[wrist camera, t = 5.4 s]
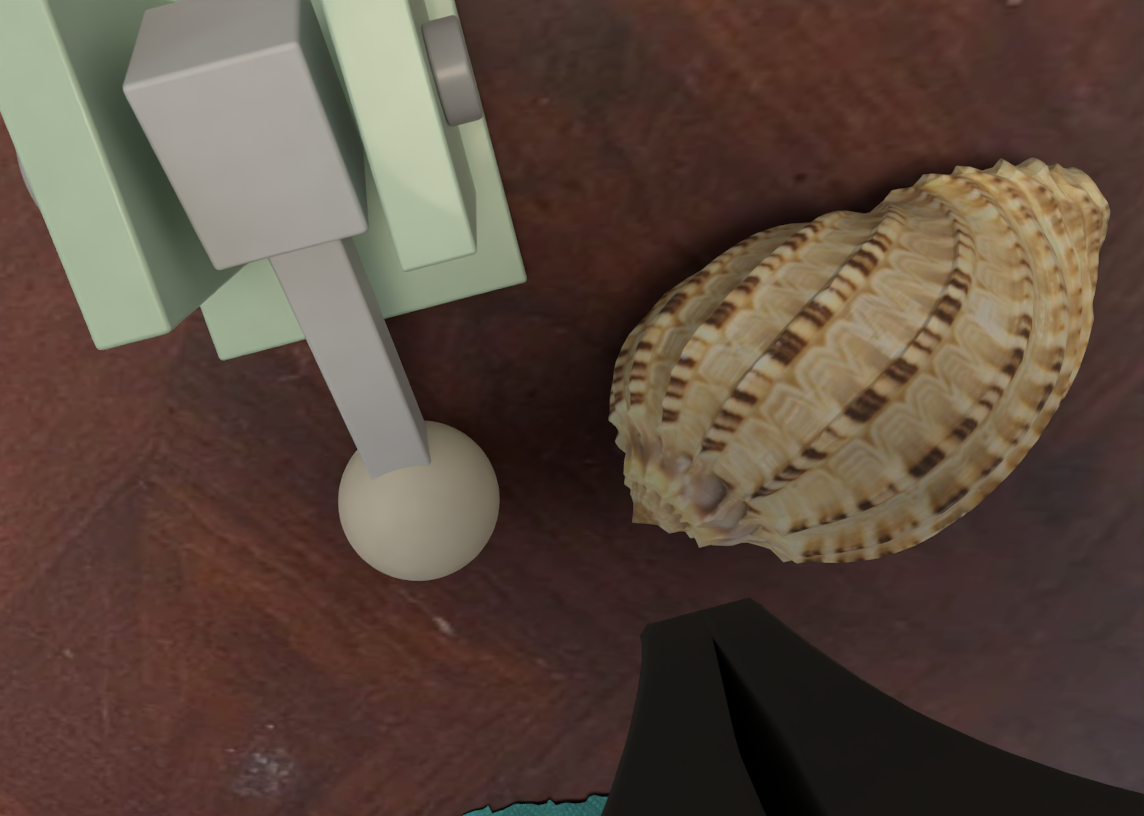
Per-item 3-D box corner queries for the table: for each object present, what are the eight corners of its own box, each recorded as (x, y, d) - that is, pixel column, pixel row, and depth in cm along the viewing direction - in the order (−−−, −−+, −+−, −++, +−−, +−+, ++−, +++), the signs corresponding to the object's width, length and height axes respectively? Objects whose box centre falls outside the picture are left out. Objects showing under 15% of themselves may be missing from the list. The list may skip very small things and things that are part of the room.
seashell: (776, 82, 23) (509, 450, 21) (975, -36, 17) (640, 451, 15) (1003, 310, 25) (785, 670, 23) (1245, 271, 20) (990, 743, 17)
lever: (504, 475, 22) (525, 589, 20) (364, 511, 22) (370, 629, 20) (328, -47, 15) (332, 44, 12) (116, 7, 15) (82, 108, 12)
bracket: (525, 272, 21) (550, 375, 14) (231, 348, 21) (110, 489, 14) (409, -170, 18) (370, -308, 12) (73, -84, 18) (-167, -172, 11)
